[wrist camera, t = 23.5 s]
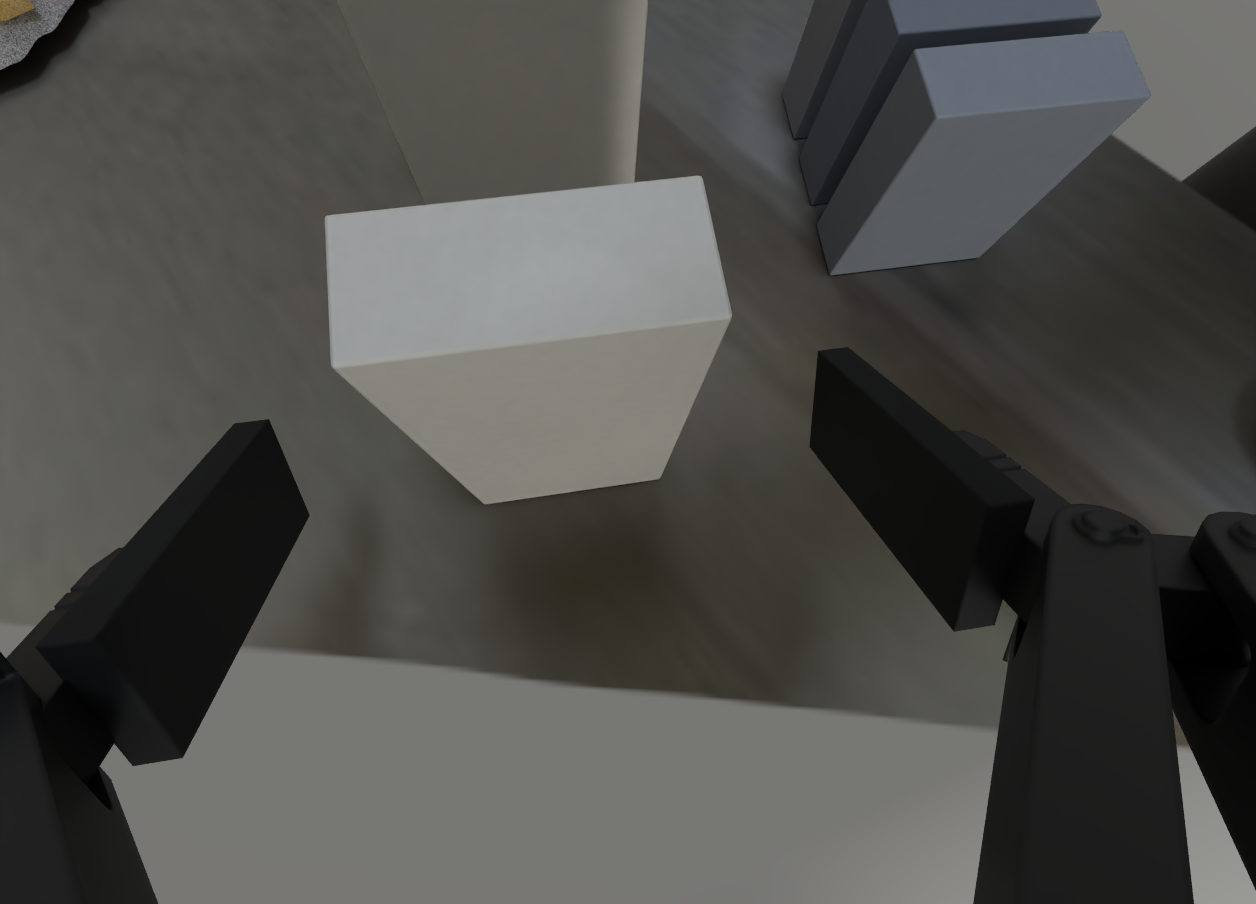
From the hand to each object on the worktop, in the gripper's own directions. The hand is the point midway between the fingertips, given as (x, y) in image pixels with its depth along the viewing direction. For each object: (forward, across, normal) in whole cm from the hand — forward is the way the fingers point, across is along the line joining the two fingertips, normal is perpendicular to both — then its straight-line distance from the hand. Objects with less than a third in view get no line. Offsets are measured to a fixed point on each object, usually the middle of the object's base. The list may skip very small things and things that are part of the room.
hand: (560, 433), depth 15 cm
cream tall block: (+8, 0, -5) cm, 9 cm away
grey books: (+16, +16, +3) cm, 22 cm away
